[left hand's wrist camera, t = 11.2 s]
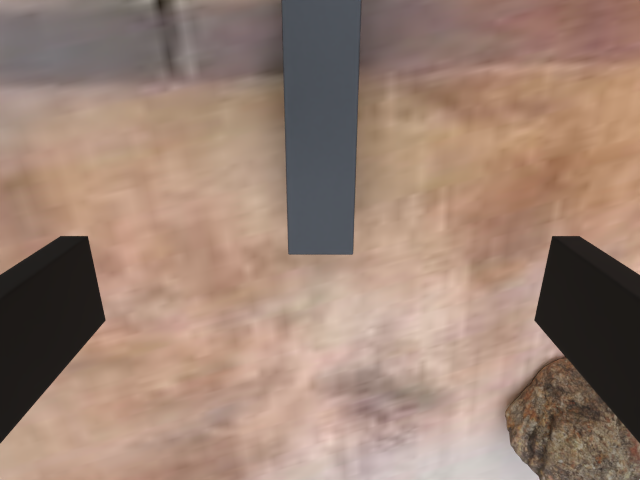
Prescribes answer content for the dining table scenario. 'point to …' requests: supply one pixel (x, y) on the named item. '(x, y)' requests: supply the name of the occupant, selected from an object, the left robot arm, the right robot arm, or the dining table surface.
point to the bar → (321, 122)
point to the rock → (570, 430)
